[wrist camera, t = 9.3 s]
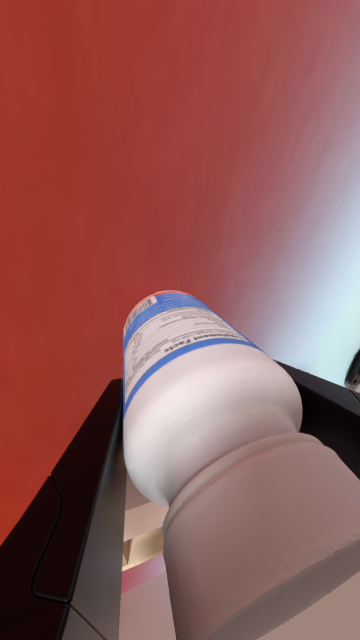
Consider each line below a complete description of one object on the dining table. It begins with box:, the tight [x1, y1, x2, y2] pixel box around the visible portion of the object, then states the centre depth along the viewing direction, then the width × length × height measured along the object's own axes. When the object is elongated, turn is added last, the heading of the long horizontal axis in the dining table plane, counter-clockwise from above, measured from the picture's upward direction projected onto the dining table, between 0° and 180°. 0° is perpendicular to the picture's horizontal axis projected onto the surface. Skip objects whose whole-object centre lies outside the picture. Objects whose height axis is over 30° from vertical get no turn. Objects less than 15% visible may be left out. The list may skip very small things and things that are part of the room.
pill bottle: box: [123, 290, 360, 640], centre depth 7 cm, size 6×5×10 cm
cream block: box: [123, 472, 169, 542], centre depth 14 cm, size 4×4×4 cm
